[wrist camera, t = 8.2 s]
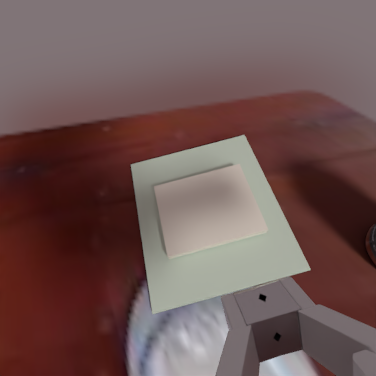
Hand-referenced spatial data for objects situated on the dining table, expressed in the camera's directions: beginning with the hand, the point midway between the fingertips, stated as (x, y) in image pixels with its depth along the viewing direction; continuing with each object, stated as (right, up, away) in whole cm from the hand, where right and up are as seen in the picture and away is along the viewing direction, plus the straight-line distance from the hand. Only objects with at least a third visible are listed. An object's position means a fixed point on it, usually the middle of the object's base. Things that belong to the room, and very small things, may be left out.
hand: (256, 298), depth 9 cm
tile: (0, -1, +13) cm, 13 cm away
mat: (-1, +2, +16) cm, 16 cm away
